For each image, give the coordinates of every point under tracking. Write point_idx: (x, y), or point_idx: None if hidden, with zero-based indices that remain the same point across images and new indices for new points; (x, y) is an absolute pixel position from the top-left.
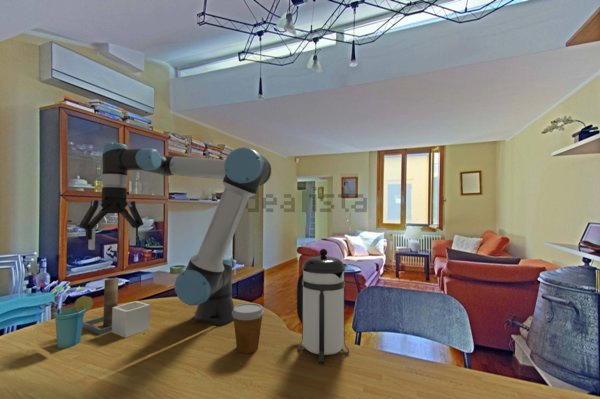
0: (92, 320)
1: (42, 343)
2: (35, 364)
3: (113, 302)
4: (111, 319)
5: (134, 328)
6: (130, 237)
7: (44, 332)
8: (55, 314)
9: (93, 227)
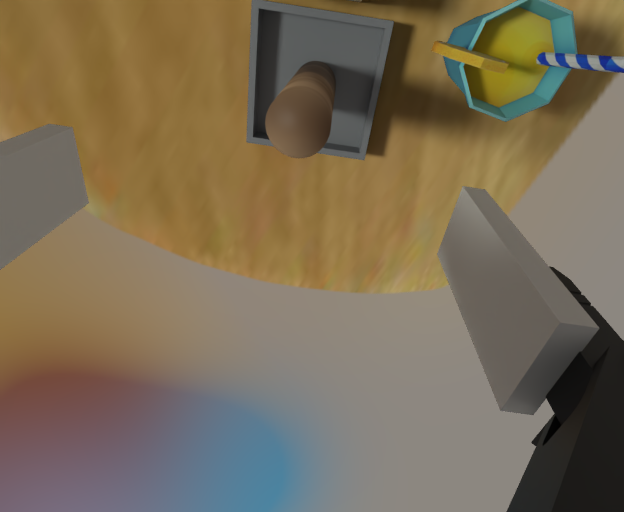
0: (336, 150)
1: (466, 158)
2: (590, 14)
3: (313, 73)
4: (322, 66)
5: None
6: (29, 226)
7: (408, 230)
8: (566, 74)
9: (605, 368)
